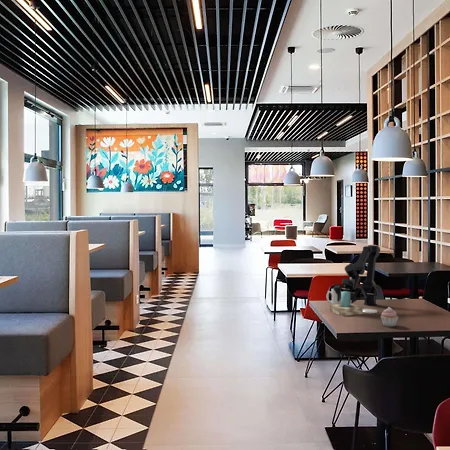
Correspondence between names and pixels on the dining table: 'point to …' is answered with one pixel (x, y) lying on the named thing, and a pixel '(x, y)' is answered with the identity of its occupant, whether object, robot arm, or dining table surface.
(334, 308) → the pocket collar
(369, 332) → the dining table surface
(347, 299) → the dowel
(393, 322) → the cupcake
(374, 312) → the pad
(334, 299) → the mug
